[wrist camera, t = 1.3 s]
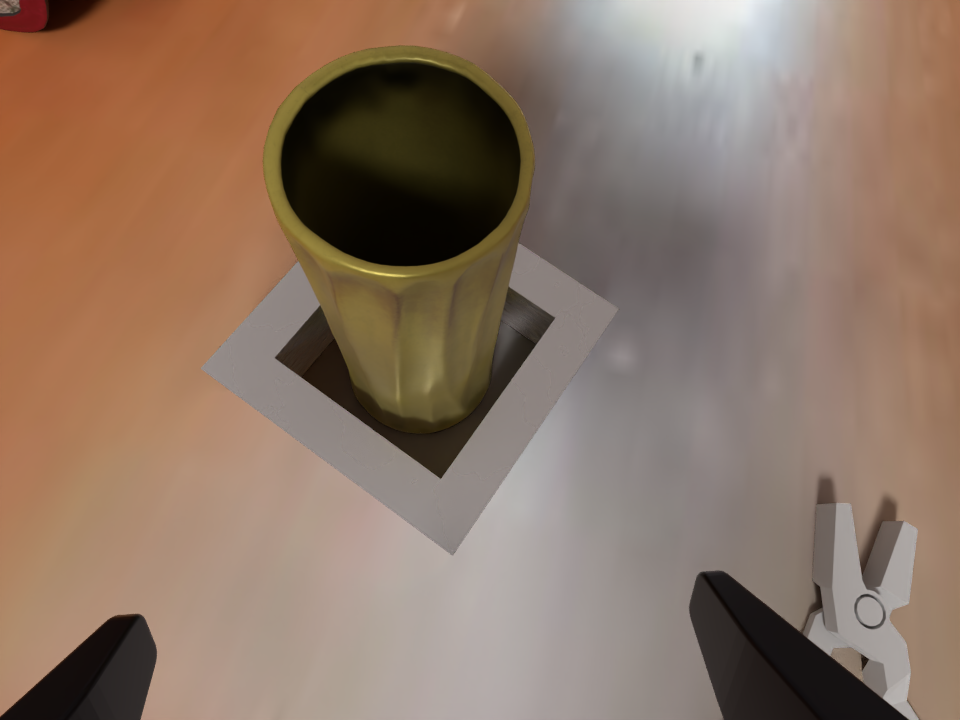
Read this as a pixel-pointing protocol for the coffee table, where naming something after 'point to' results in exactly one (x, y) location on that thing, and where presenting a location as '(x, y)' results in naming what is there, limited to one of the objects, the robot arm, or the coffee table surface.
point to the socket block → (370, 457)
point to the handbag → (23, 15)
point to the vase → (405, 221)
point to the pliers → (864, 598)
